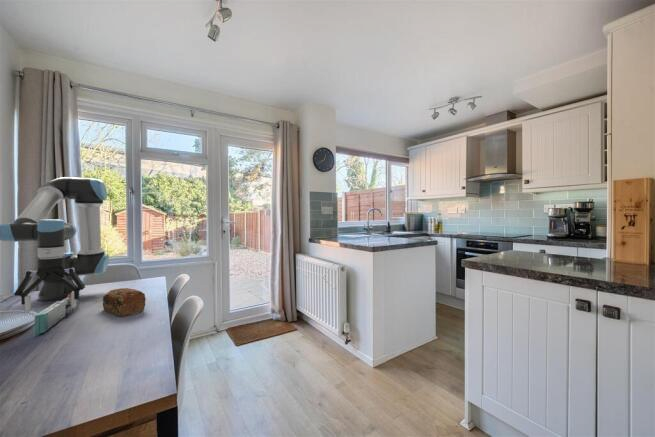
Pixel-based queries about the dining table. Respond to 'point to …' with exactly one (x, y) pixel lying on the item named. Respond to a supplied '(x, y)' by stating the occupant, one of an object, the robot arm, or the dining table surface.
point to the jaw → (54, 314)
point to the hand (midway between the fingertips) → (51, 309)
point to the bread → (124, 301)
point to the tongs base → (37, 317)
